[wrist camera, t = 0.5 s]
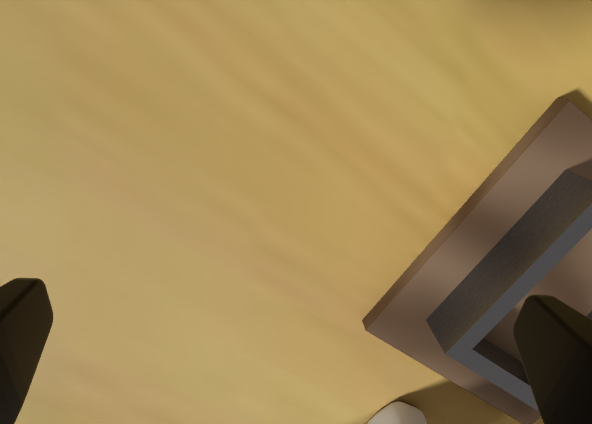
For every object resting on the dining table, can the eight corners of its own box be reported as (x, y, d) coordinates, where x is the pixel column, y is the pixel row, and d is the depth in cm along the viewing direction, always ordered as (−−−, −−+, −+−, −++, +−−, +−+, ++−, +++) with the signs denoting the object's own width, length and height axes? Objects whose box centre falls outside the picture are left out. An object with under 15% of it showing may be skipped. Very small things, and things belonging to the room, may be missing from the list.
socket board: (520, 415, 30) (528, 427, 29) (362, 320, 26) (365, 330, 26) (714, 238, 26) (730, 245, 25) (557, 98, 22) (569, 100, 21)
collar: (530, 385, 28) (559, 424, 25) (425, 319, 26) (444, 353, 23) (669, 256, 25) (719, 283, 22) (565, 169, 23) (607, 187, 20)
